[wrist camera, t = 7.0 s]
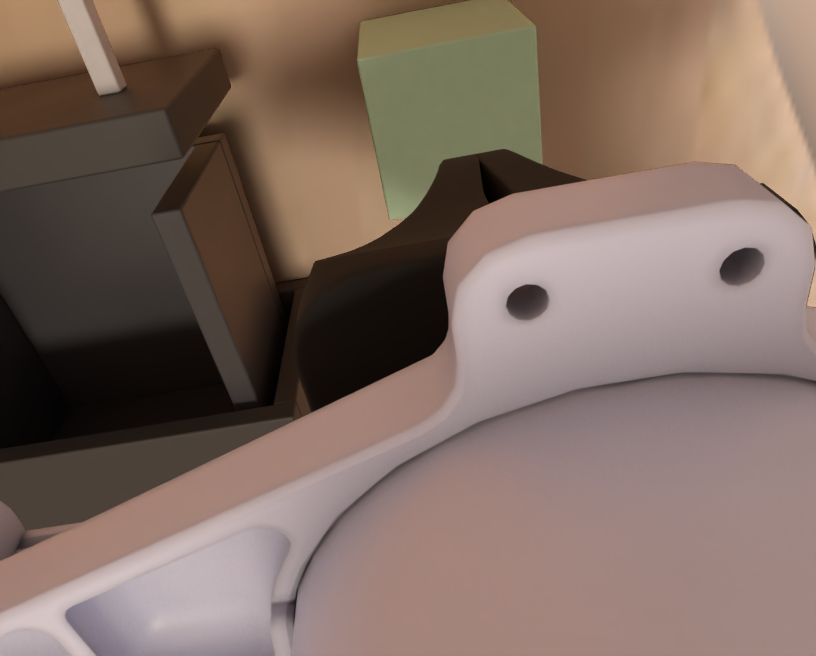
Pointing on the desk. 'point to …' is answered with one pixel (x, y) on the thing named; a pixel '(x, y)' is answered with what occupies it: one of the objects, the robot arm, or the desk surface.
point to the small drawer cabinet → (140, 450)
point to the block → (447, 91)
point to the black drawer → (127, 251)
